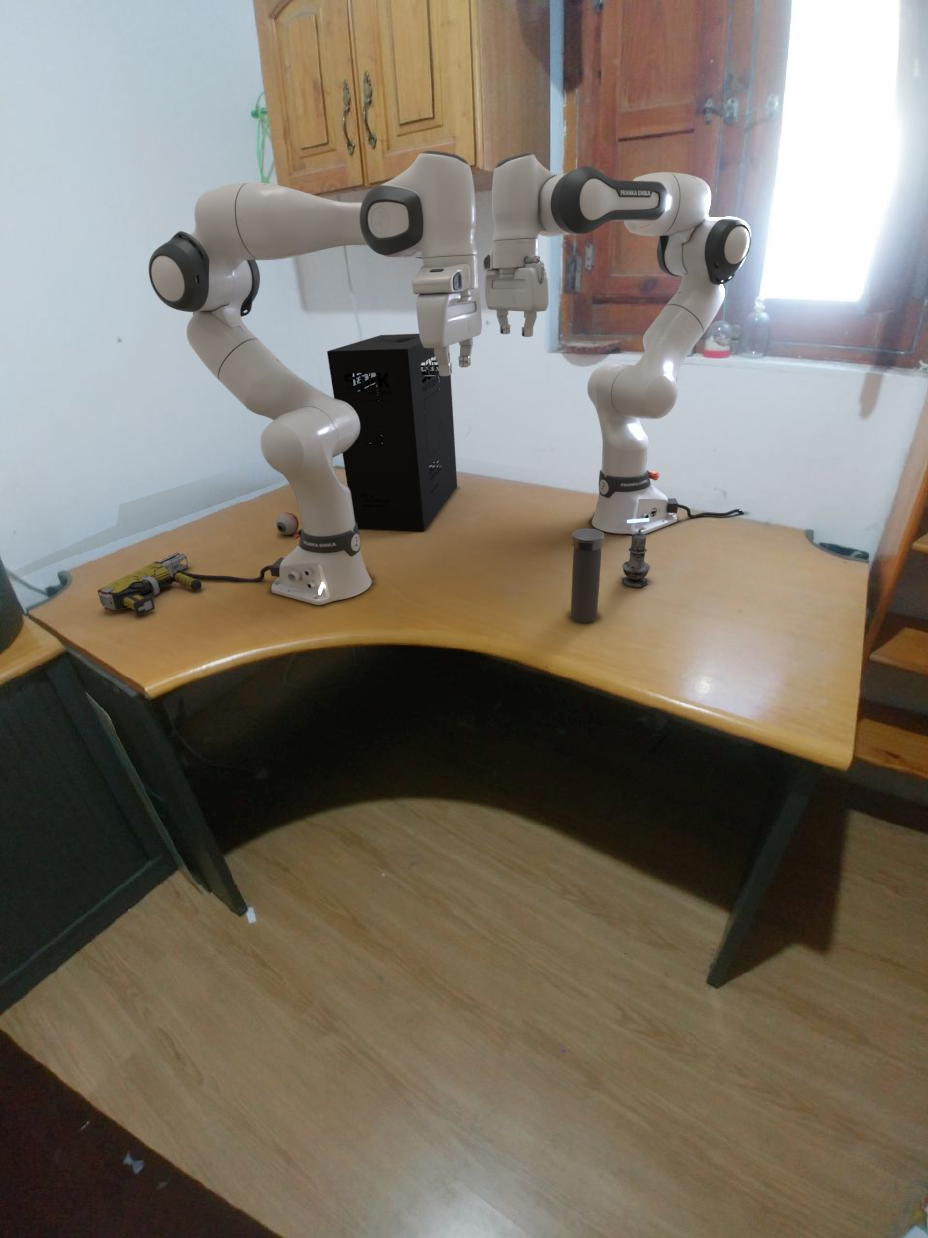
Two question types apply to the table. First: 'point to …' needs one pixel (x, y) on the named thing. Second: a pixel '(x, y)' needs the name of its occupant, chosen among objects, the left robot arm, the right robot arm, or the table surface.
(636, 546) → the dark grey chess piece
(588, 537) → the lid
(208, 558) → the table surface
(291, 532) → the eyeball
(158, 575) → the toy gun
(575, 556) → the grey tall cylinder
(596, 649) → the table surface
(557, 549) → the table surface
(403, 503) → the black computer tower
